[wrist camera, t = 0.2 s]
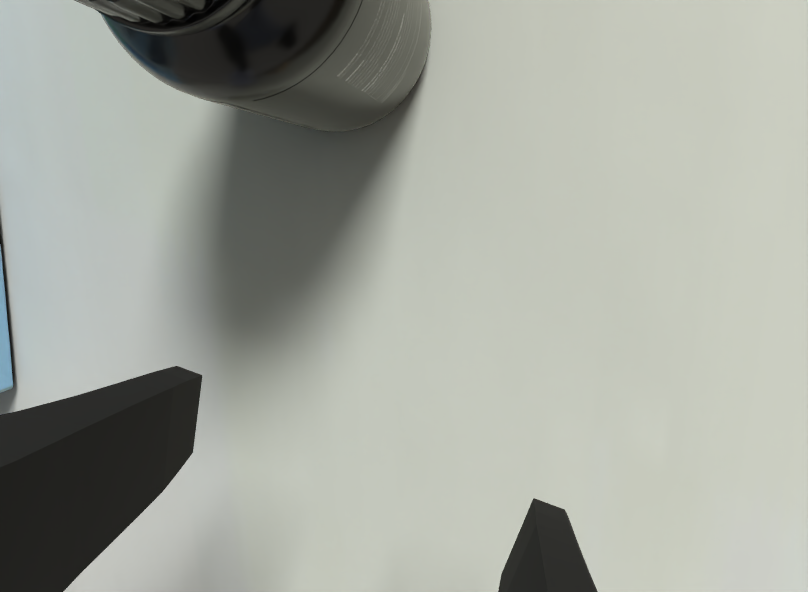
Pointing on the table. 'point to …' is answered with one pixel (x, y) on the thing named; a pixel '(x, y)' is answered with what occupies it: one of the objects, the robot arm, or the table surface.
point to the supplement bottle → (280, 53)
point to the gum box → (4, 339)
